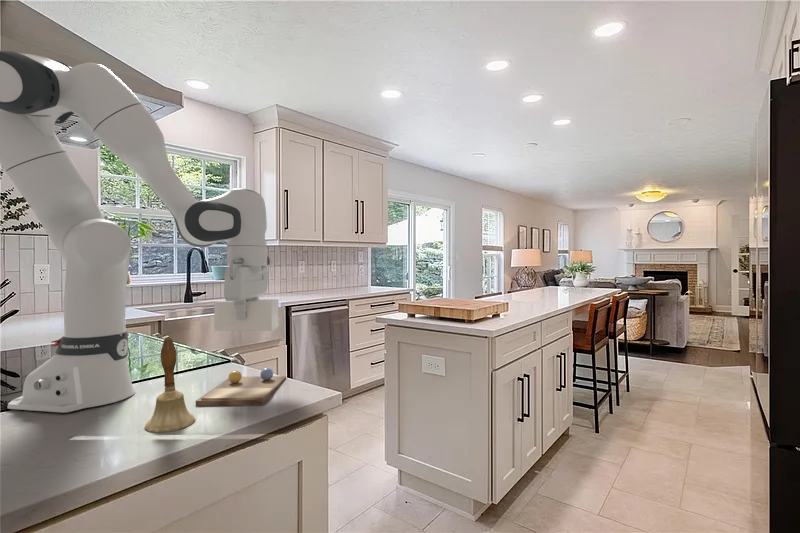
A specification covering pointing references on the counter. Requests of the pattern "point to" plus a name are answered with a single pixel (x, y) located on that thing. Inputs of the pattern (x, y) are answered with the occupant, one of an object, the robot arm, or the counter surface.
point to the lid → (258, 315)
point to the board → (241, 392)
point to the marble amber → (234, 376)
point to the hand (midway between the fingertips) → (247, 317)
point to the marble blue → (266, 374)
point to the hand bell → (169, 398)
